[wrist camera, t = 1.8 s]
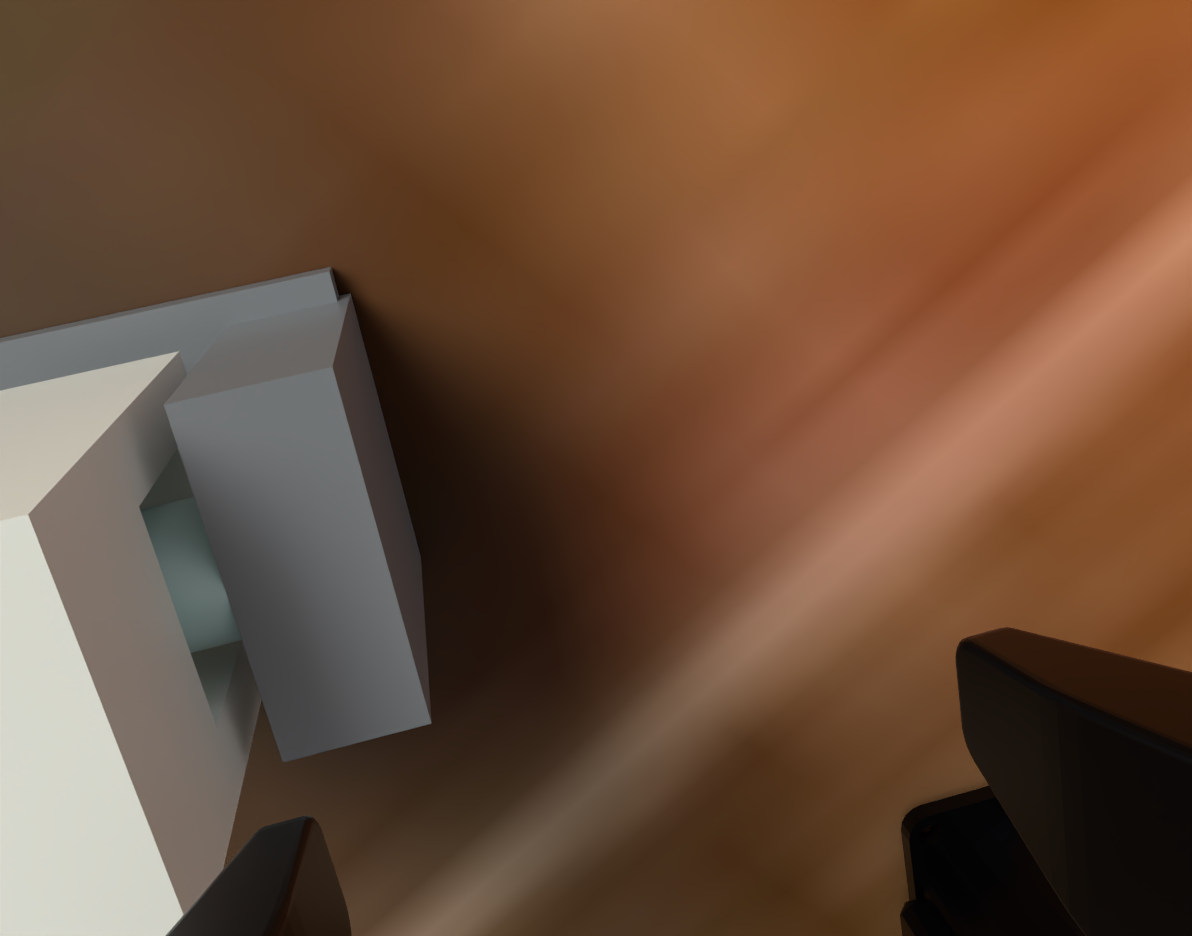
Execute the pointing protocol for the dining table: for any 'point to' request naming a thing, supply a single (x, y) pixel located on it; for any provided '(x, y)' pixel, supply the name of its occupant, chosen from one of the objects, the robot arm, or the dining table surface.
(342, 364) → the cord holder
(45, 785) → the sleeve
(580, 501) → the dining table surface
